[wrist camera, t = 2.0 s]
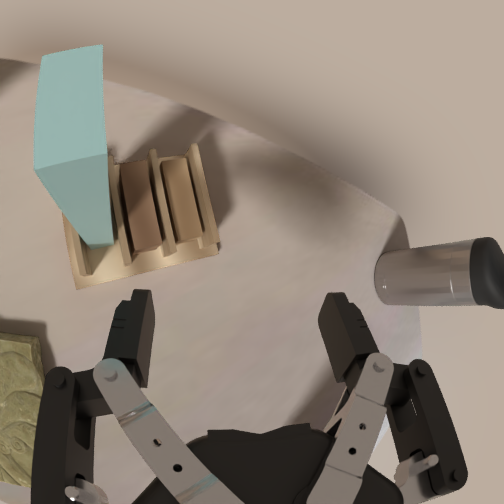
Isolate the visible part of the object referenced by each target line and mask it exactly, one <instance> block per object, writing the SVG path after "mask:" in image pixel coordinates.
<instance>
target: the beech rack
mask: <svg viewBox="0 0 504 504" xmlns="http://www.w3.org/2000/svg"><path fill="white" fill-rule="evenodd" d="M180 158H186V162H187V167H188V171H189V176H190V180H191V185H192V189H193V194H194V198H195V203H196V207H197V211H198V215H199V220H200V224H201V228H202V232H203V236H201V237H199V238H197V239H196V240H194V241H191V242H187V243H182V244H178V245H176V244H175V240H174V235H173V231H172V227H171V222H170V218H169V213H168V208H167V204H166V199H165V194H164V189H163V184H162V179H161V174H160V168H159V166H160V163H161V161H166V160H173V159H180ZM146 164H147V170H148V176H149V181H150V186H151V192H152V197H153V202H154V207H155V212H156V217H157V221H158V226H159V231H160V235H161V239H162V244H161V245H160V246H159V247H158V248H157V249H156V250H152V251H148V252H144V253H139V254H135V255H133V254H132V250H131V245H130V241H129V236H128V231H127V226H126V221H125V216H124V210H123V205H122V199H121V193H120V187H119V168H120V164H119V165H114V161H113V155H112V156H108V182H109V198H110V211H111V222H112V232H113V240H114V245H110V246H106V247H102V248H98V249H93V250H91V249H90V248H89V246H88V245H87V244H86V243H85V241H84V240H83V239H82V237H81V236H80V235H79V234H78V232H77V231H76V230H75V228H74V227H73V226H72V224H71V223H70V222H69V220H68V219H67V218H66V216H65V215H64V214H63V212H62V216H63V223H64V230H65V236H66V242H67V248H68V253H69V258H70V263H71V268H72V273H73V277H74V282H75V286H76V290H77V289H81V288H85V287H89V286H93V285H97V284H101V283H105V282H109V281H113V280H117V279H121V278H125V277H129V276H133V275H137V274H141V273H145V272H148V271H152V270H156V269H160V268H164V267H168V266H172V265H176V264H180V263H184V262H188V261H192V260H196V259H200V258H205V257H209V256H213V255H216V254H219V253H218V249H217V245H216V243H218V242H220V238H219V234H218V230H217V226H216V222H215V218H214V214H213V210H212V206H211V201H210V197H209V193H208V189H207V184H206V180H205V176H204V171H203V167H202V163H201V158H200V154H199V149H198V145H197V144H191V146H190V148H189V149H188V151H187V153H186V154H185V155H177V156H169V157H162V158H158V157H157V152H156V149H150V150H149V154H148V157H147V160H146Z"/></svg>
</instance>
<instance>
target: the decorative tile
mask: <svg viewBox="0 0 504 504" xmlns="http://www.w3.org/2000/svg"><path fill="white" fill-rule="evenodd" d="M44 382H45V375H44V372H43V365H42V363H41V346H40V341H39V338H38V337H34V336H25V335H18V334H10V333H2V332H0V481H1V482H6V483H10V484H14V485H19V486H25V487H29V488H31V474H32V459H33V449H34V440H35V432H36V425H37V418H38V412H39V407H40V401H41V396H42V391H43V386H44Z"/></svg>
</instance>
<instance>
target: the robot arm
mask: <svg viewBox="0 0 504 504" xmlns="http://www.w3.org/2000/svg"><path fill="white" fill-rule="evenodd" d="M375 287H376V291H377V293H378V296H379V298H380V299H381V301H383V302H384V303H385V304H387V305H407V306H463V305H464V306H465V305H466V306H471V305H487V306H490V307H493V308H497V309H504V254H503V252H502V250H501V248H500V246H499V245H498V243H497V242H496V240H494V239H493V238H490V237H484V238H477V239H471V240H465V241H459V242H453V243H446V244H439V245H432V246H425V247H418V248H412V249H404V250H397V251H389V252H386V253H384V254H383V255H382V256H381V257H380V258H379V260H378V262H377V265H376V269H375ZM318 325H319V329H320V332H321V335H322V338H323V341H324V344H325V347H326V350H327V353H328V356H329V359H330V363H331V366H332V369H333V372H334V375H335V378H336V382H337V383H339V382H345V383H346V387H345V389H344V391H343V393H342V396H341V398H340V400H339V402H338V405H337V407H336V409H335V411H334V413H333V415H332V417H331V419H330V421H329V422H328V424H327V425H326V427H325V428H324V430H323V431H320V430H316V429H311V428H310V424H309V423H305V424H297V425H288V426H284V427H281V428H278V429H275V430H272V431H269V432H266V433H263V434H256V433H250V432H244V431H239V430H234V429H232V430H208V435H206V436H202V437H199V438H196V439H194V440H192V441H190V442H189V443H187V444H186V445H185V444H184V442H183V441H182V440H181V439H180V438H179V437H178V435H177V434H176V433H175V432H174V430H173V429H172V428H171V427H170V426H169V424H168V423H167V422H166V420H165V419H164V418H163V417H162V415H161V414H160V413H159V411H158V410H157V409H156V408H155V406H154V405H153V404H151V403H150V402H149V401H148V399H147V398H146V397H145V395H144V394H143V392H142V391H141V389H140V387H142V388H147V384H148V375H149V366H150V357H151V349H152V341H153V334H154V327H155V312H154V306H153V300H152V294H151V290H143V289H134V290H133V293H132V297H131V301H126V300H122V302H121V303H120V304H119V305H118V307H117V308H116V310H115V313H114V317H113V321H112V324H111V328H110V332H109V336H108V340H107V344H106V348H105V353H104V357H103V359H102V361H100V362H99V363H98V364H97V365H96V366H95V368H93V369H90V370H87V371H81V372H75V373H72V372H71V370H69V369H68V368H66V367H55V368H53V369H52V370H50V371H49V372H48V374H47V375H46V378H45V382H44V386H43V391H42V396H41V401H40V407H39V412H38V418H37V425H36V432H35V440H34V449H33V459H32V474H31V504H109V502H108V498H107V495H106V493H105V492H104V491H103V490H102V489H101V488H100V487H98V486H97V485H94V484H93V466H94V438H95V423H96V417H97V416H103V415H108V414H114V415H115V417H116V418H117V420H118V422H119V424H120V426H121V427H122V429H123V430H124V432H125V433H126V435H127V436H128V438H129V439H130V441H131V442H132V444H133V445H134V447H135V448H136V449H137V451H138V452H139V454H140V455H141V456H142V458H143V459H144V460H145V462H146V463H147V464H148V466H149V467H150V468H151V469H152V471H153V472H154V473H155V475H156V476H157V477H156V478H155V479H154V480H153V481H152V482H151V483H150V484H149V486H148V487H147V488H146V489H145V490H144V491H143V492H142V493H141V494H140V495H139V496H138V498H137V499H136V500H135V501H134V502H133V503H132V504H419V503H422V502H425V501H428V500H431V499H435V498H437V497H440V496H443V495H446V494H449V493H451V492H454V491H456V490H459V489H460V488H462V487H463V486H464V485H465V483H466V481H467V477H468V471H467V467H466V463H465V460H464V456H463V453H462V450H461V447H460V443H459V440H458V437H457V434H456V431H455V428H454V425H453V422H452V419H451V417H450V414H449V411H448V408H447V406H446V403H445V401H444V398H443V395H442V393H441V391H440V388H439V385H438V383H437V381H436V378H435V376H434V373H433V371H432V369H431V367H430V365H429V364H428V363H427V362H425V361H424V360H421V359H415V360H413V361H412V362H411V363H410V364H409V365H402V364H396V363H392V361H391V359H390V358H389V357H388V356H386V355H384V354H382V353H380V352H379V350H378V348H377V345H376V343H375V341H374V339H373V336H372V334H371V332H370V330H369V328H368V325H367V323H366V321H364V317H363V315H362V313H361V310H360V309H359V308H358V307H357V306H356V305H355V304H354V303H349V301H348V299H347V297H346V295H345V293H343V292H338V293H328V294H327V295H326V298H325V300H324V303H323V305H322V308H321V310H320V313H319V316H318ZM411 399H412V401H411ZM412 402H413V404H412ZM413 405H414V407H413ZM414 408H415V410H414ZM415 411H416V413H415ZM385 414H387V418H388V421H389V425H390V428H391V432H392V436H393V439H394V443H395V447H396V450H397V455H398V459H399V463H400V464H399V465H398V466H397V469H396V473H395V475H394V479H395V481H396V482H395V483H393V482H392V481H390V480H389V479H388V478H386V477H385V476H383V475H382V474H381V473H379V472H378V471H377V470H375V469H374V468H372V467H371V466H370V465H369V464H367V463H368V461H369V459H370V456H371V454H372V451H373V448H374V446H375V443H376V440H377V438H378V435H379V432H380V429H381V426H382V423H383V420H384V417H385ZM416 414H417V416H416Z"/></svg>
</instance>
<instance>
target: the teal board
mask: <svg viewBox="0 0 504 504" xmlns="http://www.w3.org/2000/svg"><path fill="white" fill-rule="evenodd" d="M102 65H103V45H95V46H89V47H83V48H77V49H71V50H66V51H62V52H57V53H52V54H48V55H44V56H42V61H41V67H40V73H39V80H38V88H37V97H36V108H35V123H34V171H35V173H36V174H37V176H38V177H39V179H40V180H41V182H42V183H43V185H44V186H45V188H46V189H47V191H48V192H49V194H50V195H51V197H52V198H53V200H54V201H55V202H56V204H57V205H58V207H59V208H60V209H61V211H62V212H63V214H64V215H65V216H66V218H67V219H68V220H69V222H70V223H71V224H72V226H73V227H74V228H75V230H76V231H77V232H78V234H79V235H80V236H81V237H82V239H83V240H84V241H85V243H86V244H87V245H88V246H89V248H90V249H91V250H93V249H98V248H102V247H106V246H110V245H114V240H113V232H112V222H111V211H110V198H109V182H108V154H107V144H106V133H105V120H104V103H103V70H102V69H103V68H102Z"/></svg>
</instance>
